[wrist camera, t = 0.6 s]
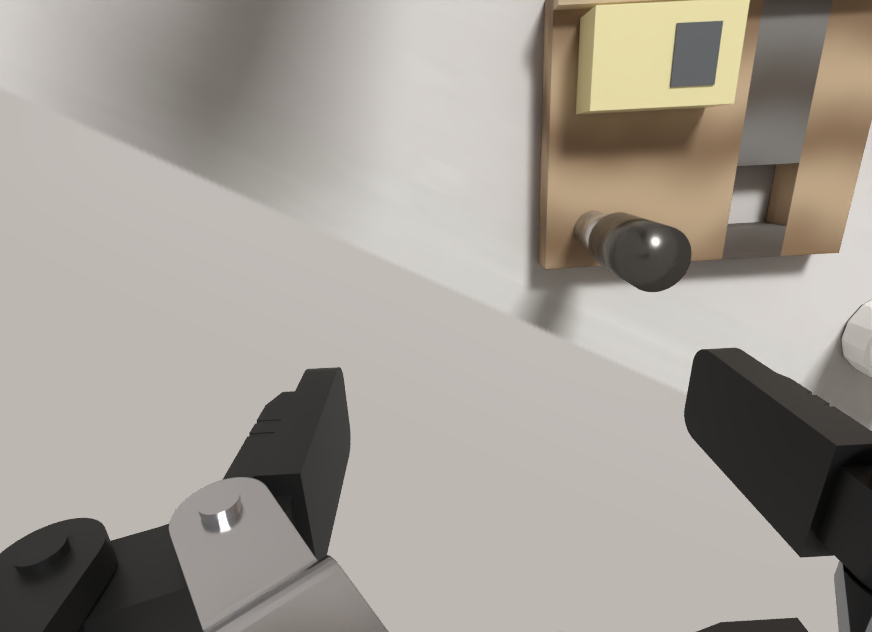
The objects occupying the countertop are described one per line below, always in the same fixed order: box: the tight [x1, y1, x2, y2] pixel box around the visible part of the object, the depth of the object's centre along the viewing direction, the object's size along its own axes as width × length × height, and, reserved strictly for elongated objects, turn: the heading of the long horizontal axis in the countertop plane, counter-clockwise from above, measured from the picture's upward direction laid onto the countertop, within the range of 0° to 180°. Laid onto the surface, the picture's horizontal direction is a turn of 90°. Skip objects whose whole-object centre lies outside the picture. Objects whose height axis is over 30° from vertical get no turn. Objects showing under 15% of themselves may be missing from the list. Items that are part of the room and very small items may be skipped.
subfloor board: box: [538, 0, 872, 269], centre depth 29 cm, size 16×20×3 cm
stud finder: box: [576, 0, 750, 114], centre depth 26 cm, size 5×8×3 cm, turn 93°
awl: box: [574, 211, 692, 292], centre depth 26 cm, size 3×3×9 cm
